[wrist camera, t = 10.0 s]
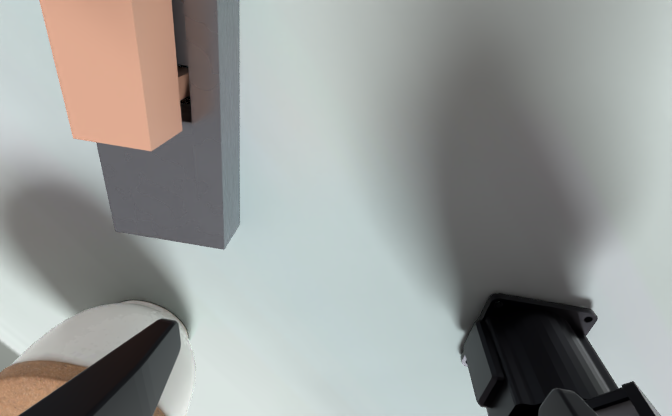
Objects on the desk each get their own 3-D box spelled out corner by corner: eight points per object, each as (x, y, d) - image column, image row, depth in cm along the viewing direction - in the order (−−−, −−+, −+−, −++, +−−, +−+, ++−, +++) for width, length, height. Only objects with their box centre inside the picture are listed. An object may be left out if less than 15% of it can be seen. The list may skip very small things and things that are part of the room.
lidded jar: (64, 261, 24) (-91, 390, 16) (219, 291, 24) (141, 435, 16) (91, 360, 30) (-15, 494, 22) (218, 385, 30) (159, 528, 22)
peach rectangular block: (200, -121, 14) (106, -187, 9) (209, 112, 18) (151, 151, 13) (123, -133, 14) (-11, -205, 9) (152, 103, 18) (73, 138, 13)
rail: (238, -407, 10) (202, -514, 8) (239, 224, 21) (224, 249, 19) (36, -435, 10) (-52, -549, 8) (141, 208, 22) (115, 231, 19)
